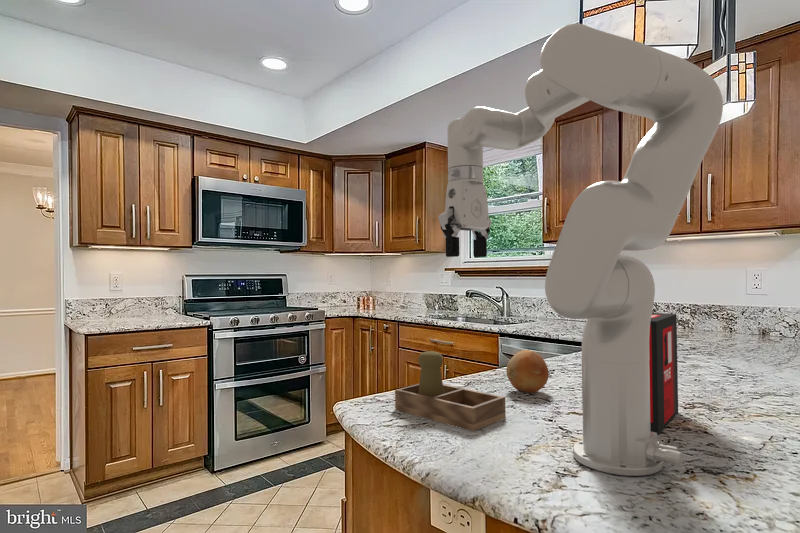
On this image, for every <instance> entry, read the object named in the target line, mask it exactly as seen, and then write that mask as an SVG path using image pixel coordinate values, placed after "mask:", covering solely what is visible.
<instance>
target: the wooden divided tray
mask: <svg viewBox="0 0 800 533" xmlns="http://www.w3.org/2000/svg"><path fill="white" fill-rule="evenodd" d="M443 389H444V394H442V395H438V396H435V397H429V396H425V395H420V394H418V392H419V383H416V384H412V385H408V386H405V387H401V388H398V389H395V390H394V400H395V401H394V403H395V404H394V408H395V409H394V410H395V411H399V412H402V413H406V414H411V415H413V416H416V417H420V418H424V419H427V420H431V421H435V422H438V423H442V424H445V425H448V424H449V426H452V425H453V426H452V427H456V426H457V427H456V428H459V427H461V428H460V429H463V428H464V430H466V429H468V430H467V431H470V430H471V431H470V432H473V431H474V432H476V431H478V430H481V429H483V428H486V427H488V426H490V424H491V425H493V424H496V423H498V422H500V421H502V419H503V420H505V419H506V416H507V415H506V397H505V396H502V395H497V394H492V393H487V392H483V391H478V390H474V389H473V390H472V389H468V388H463V387H459V386H454V385H448V384H444V383H443ZM497 421H498V422H497ZM485 426H486V427H485ZM482 427H483V428H482ZM480 428H481V429H480ZM475 430H476V431H475Z"/></svg>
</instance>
